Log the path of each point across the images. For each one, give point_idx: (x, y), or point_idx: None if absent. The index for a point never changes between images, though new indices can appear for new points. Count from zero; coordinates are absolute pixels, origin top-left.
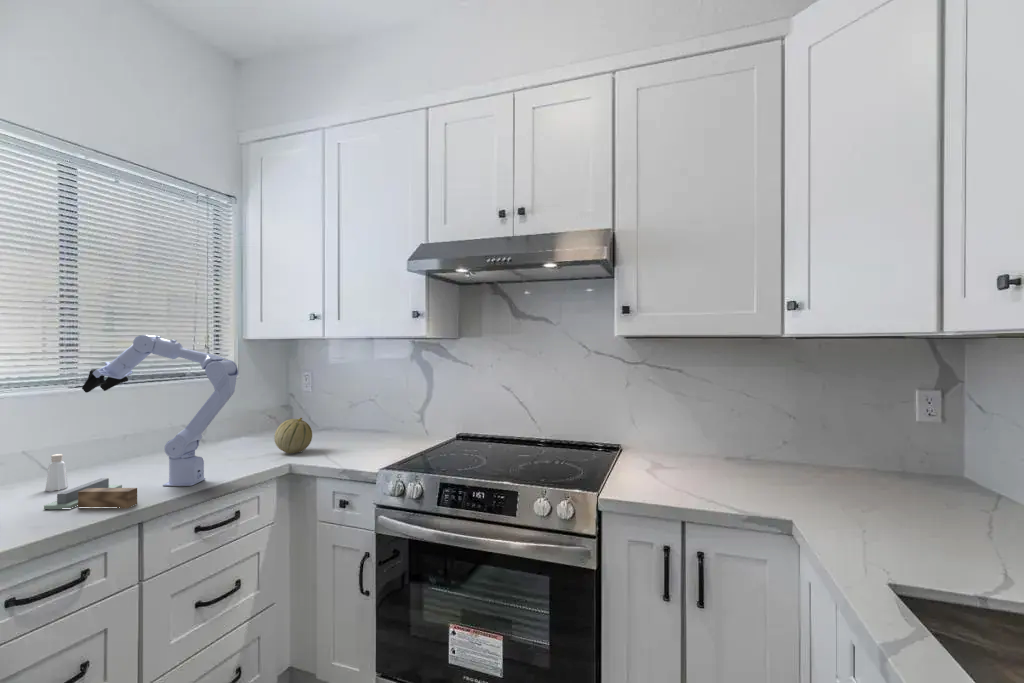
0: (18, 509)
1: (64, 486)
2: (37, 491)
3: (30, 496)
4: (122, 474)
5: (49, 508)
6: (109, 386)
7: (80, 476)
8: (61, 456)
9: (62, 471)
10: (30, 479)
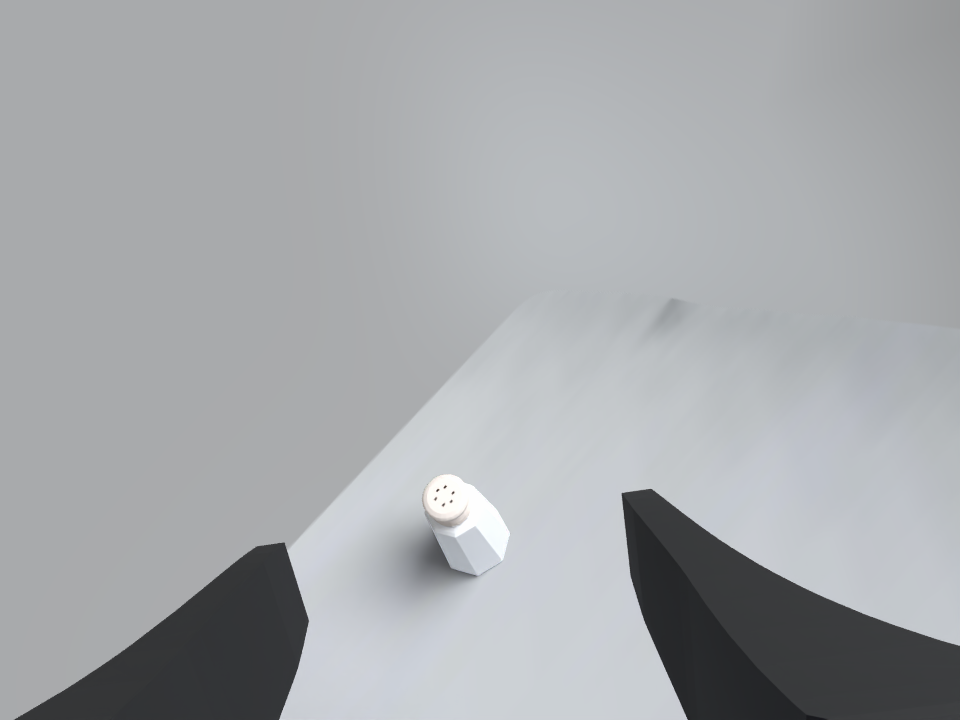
0: None
1: (473, 571)
2: None
3: (376, 534)
4: None
5: None
6: (665, 662)
7: (659, 453)
8: (449, 520)
9: (457, 550)
10: (583, 314)
